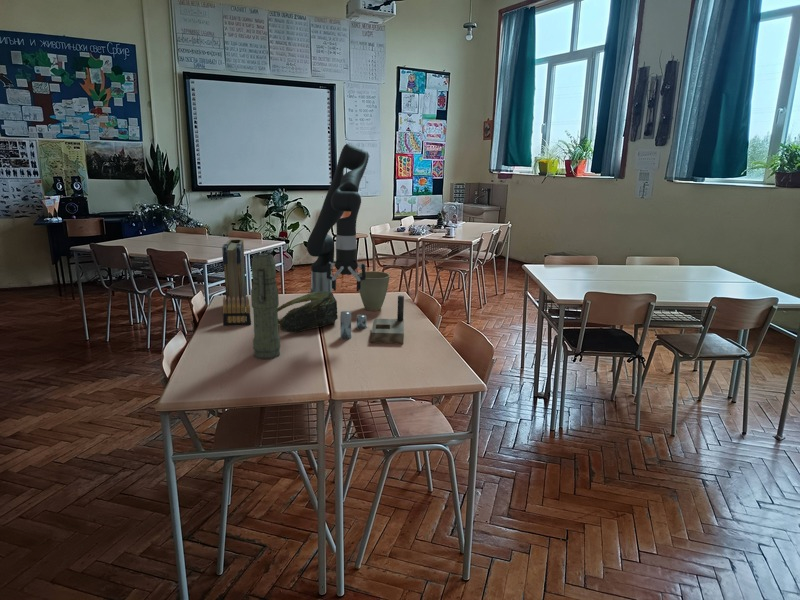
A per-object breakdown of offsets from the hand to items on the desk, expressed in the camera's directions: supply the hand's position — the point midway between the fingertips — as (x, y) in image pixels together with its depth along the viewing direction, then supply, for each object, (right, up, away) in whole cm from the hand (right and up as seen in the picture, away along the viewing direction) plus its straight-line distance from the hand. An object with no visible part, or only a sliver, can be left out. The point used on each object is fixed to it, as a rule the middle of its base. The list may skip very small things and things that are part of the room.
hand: (346, 290), depth 196 cm
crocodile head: (-18, -15, +15) cm, 27 cm away
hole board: (+15, -17, +9) cm, 25 cm away
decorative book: (-52, -8, +37) cm, 64 cm away
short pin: (+4, -15, +17) cm, 23 cm away
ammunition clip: (-46, -14, +16) cm, 50 cm away
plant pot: (+7, -8, +44) cm, 46 cm away
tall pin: (-1, -18, +5) cm, 19 cm away
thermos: (-26, -23, -15) cm, 37 cm away
